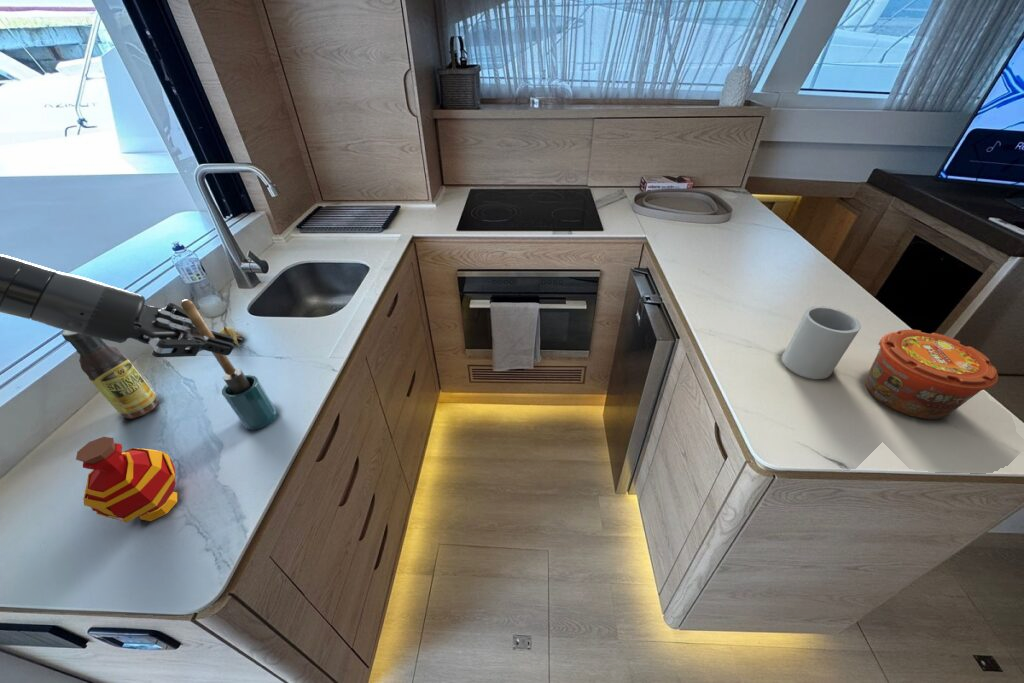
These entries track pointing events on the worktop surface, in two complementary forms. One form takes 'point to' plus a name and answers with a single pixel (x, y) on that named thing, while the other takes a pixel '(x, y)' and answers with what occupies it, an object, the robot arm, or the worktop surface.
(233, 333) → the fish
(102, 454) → the potion bottle
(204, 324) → the stick grenade
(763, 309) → the worktop surface
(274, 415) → the teal cylindrical holder
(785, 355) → the cup
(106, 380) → the sauce bottle
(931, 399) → the food container
